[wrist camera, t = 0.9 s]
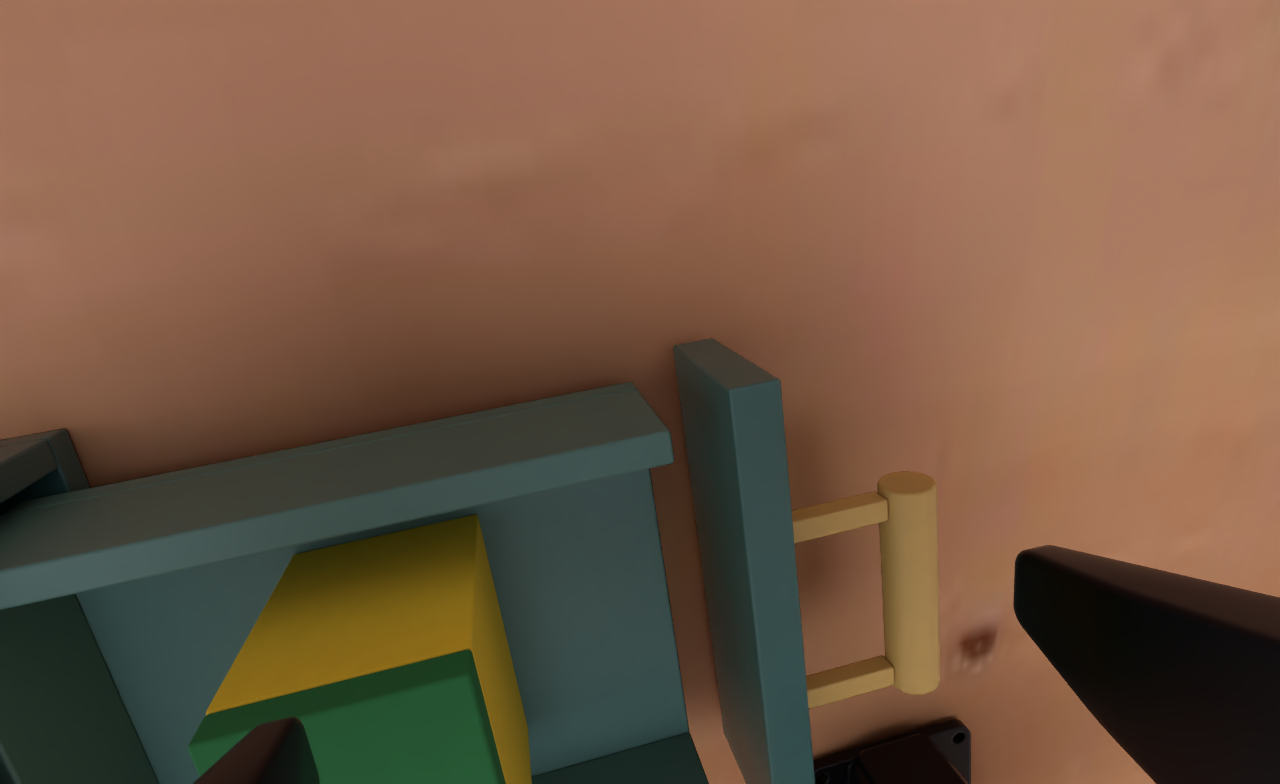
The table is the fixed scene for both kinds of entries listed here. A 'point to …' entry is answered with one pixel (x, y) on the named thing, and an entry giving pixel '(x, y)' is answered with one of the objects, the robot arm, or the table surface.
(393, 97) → the table surface
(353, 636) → the sponge
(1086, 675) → the robot arm
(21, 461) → the cabinet
